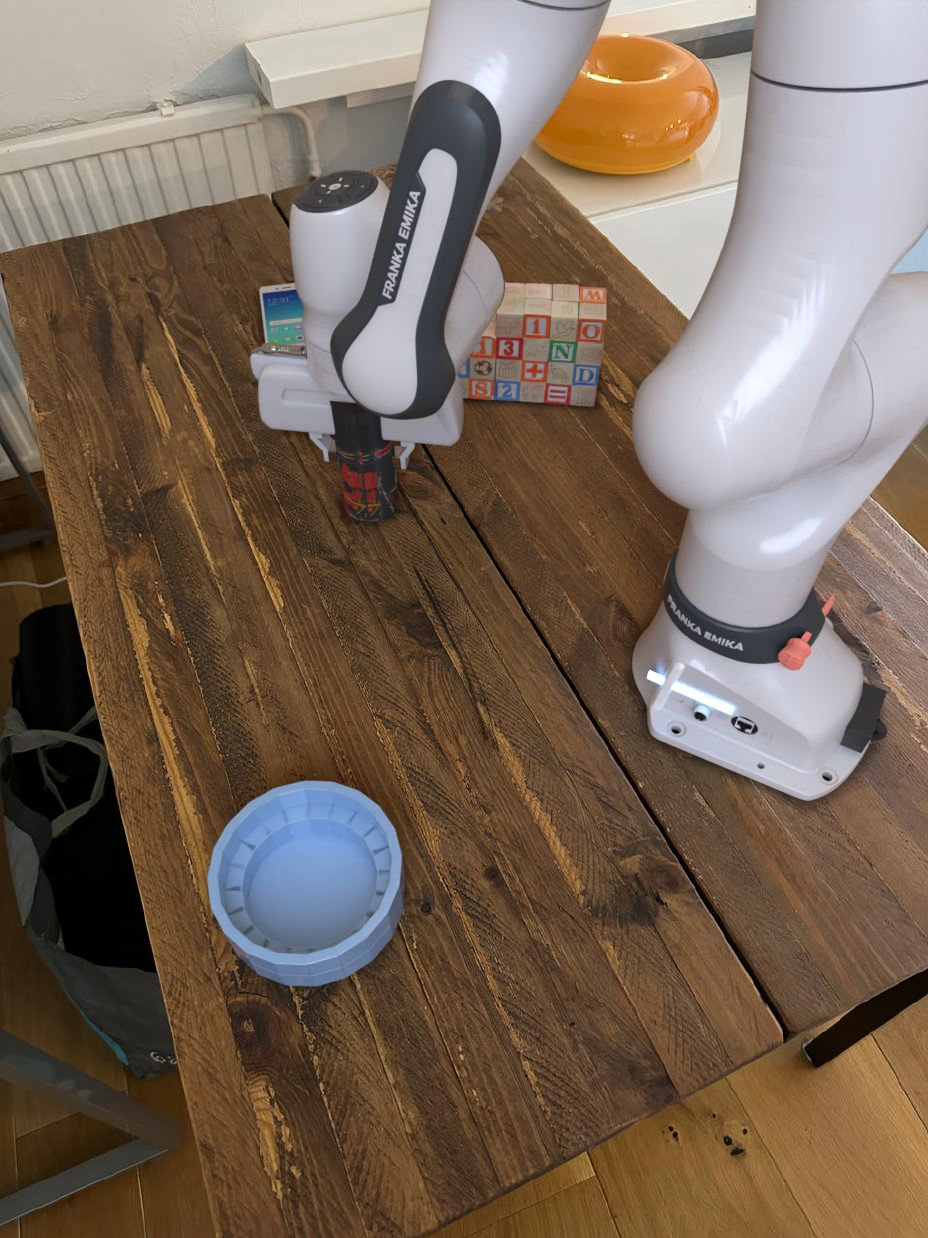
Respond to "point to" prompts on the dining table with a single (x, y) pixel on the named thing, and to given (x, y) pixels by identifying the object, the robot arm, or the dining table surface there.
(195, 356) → the dining table surface
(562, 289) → the stack of blocks
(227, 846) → the bowl
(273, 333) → the smartphone
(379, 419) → the deodorant
